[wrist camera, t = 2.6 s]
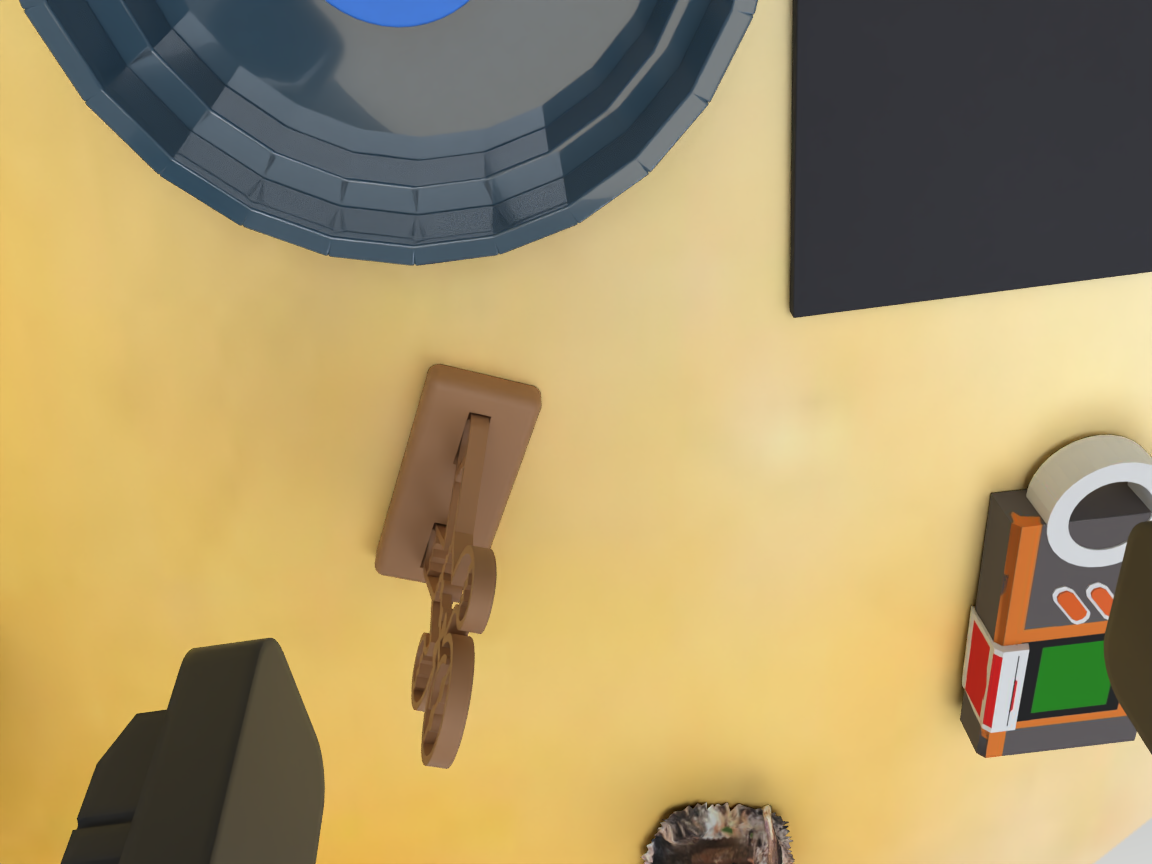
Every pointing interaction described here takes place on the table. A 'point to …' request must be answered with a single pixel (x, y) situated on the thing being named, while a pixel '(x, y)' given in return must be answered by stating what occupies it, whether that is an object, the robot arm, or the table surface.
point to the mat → (967, 147)
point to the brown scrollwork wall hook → (454, 530)
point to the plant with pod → (721, 837)
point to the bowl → (397, 110)
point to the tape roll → (398, 11)
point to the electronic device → (1053, 602)
